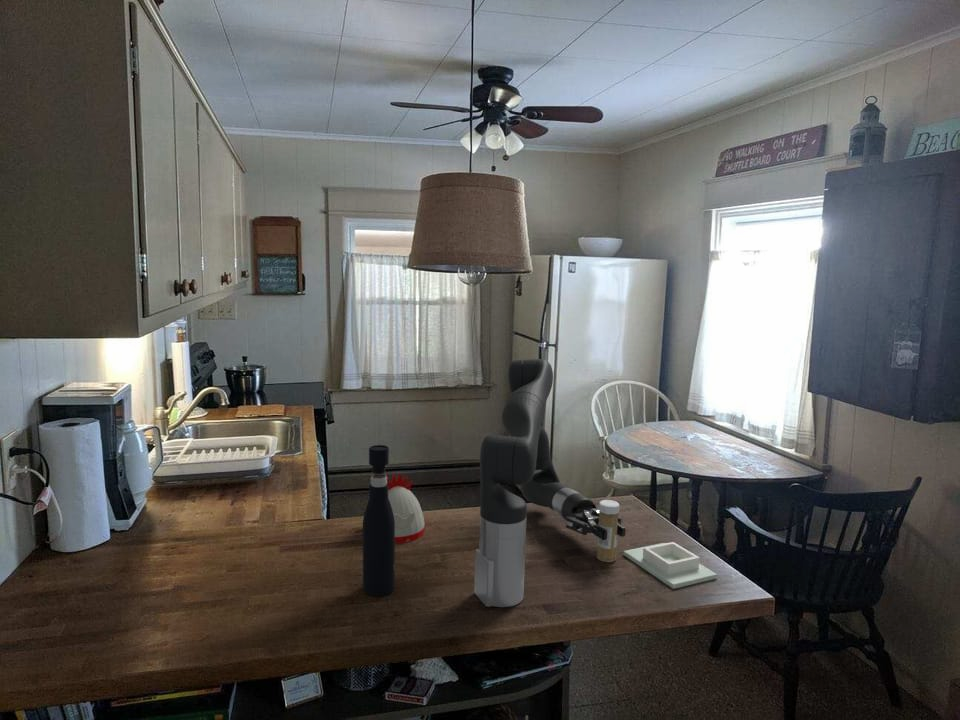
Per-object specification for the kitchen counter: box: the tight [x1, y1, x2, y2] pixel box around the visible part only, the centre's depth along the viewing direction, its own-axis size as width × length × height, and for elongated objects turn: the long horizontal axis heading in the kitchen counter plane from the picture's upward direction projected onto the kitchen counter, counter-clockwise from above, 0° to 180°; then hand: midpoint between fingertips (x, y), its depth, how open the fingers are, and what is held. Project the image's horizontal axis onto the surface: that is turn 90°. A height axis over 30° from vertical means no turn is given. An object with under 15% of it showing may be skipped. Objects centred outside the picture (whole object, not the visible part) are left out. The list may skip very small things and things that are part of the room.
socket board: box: [623, 541, 718, 590], centre depth 147 cm, size 12×17×4 cm
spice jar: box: [596, 499, 620, 563], centre depth 150 cm, size 5×5×13 cm
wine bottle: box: [362, 444, 396, 597], centre depth 132 cm, size 6×6×30 cm
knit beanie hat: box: [385, 472, 425, 544], centre depth 162 cm, size 14×14×15 cm
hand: (614, 534), depth 147 cm, fingers closed on spice jar, 4 cm apart
